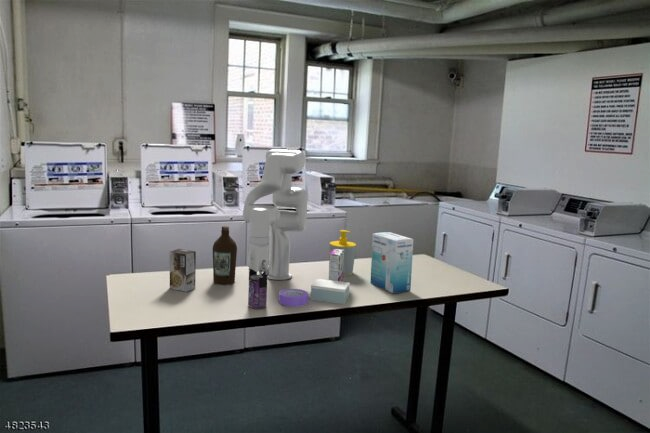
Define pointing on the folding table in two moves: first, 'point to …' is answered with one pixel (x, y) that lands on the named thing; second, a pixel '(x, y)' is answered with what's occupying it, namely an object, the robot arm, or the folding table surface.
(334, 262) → the candy bar box
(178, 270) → the coffee box
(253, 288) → the beverage can
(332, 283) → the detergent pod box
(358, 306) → the folding table surface
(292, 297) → the masking tape
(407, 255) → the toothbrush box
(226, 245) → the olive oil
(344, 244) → the soap bottle
